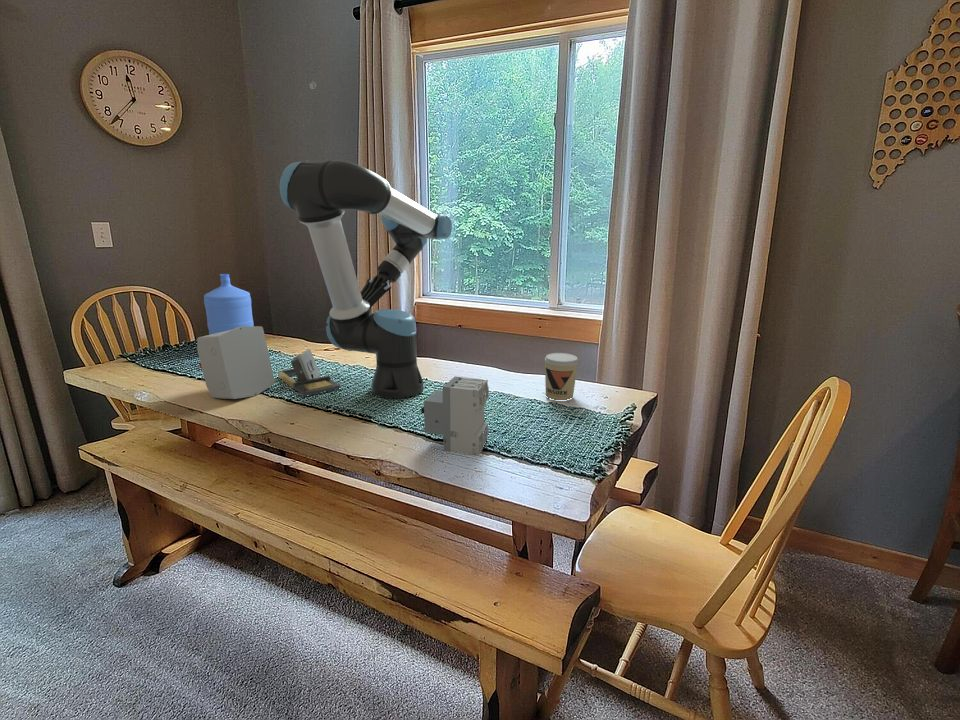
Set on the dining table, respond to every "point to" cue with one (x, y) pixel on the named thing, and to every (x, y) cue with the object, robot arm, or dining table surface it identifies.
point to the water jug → (227, 307)
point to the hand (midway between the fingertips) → (348, 321)
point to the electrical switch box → (235, 362)
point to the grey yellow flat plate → (308, 383)
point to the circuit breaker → (458, 414)
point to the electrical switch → (305, 366)
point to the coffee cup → (560, 375)
